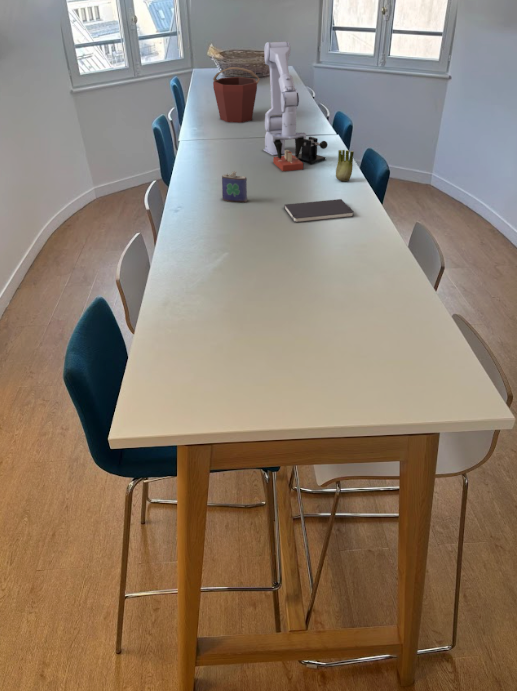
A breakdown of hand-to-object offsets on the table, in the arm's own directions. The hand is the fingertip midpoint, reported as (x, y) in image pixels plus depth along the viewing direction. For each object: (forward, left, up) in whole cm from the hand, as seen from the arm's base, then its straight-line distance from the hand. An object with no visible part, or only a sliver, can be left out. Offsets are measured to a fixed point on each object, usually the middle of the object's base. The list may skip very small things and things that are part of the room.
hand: (288, 157), depth 239 cm
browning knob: (0, 0, -1) cm, 1 cm away
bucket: (-81, +15, -4) cm, 82 cm away
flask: (+25, -37, -4) cm, 45 cm away
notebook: (+49, -16, -4) cm, 52 cm away
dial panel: (0, 0, -4) cm, 4 cm away
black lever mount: (-4, +13, -4) cm, 14 cm away
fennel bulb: (+26, +10, -4) cm, 28 cm away
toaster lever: (+1, +14, +2) cm, 14 cm away
